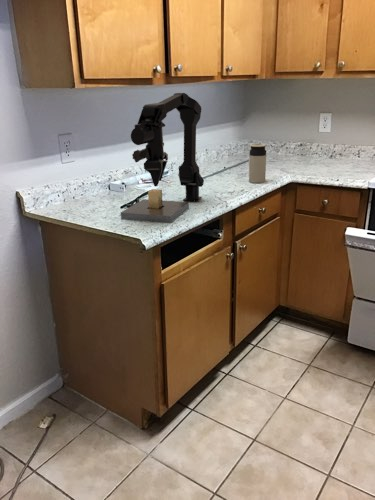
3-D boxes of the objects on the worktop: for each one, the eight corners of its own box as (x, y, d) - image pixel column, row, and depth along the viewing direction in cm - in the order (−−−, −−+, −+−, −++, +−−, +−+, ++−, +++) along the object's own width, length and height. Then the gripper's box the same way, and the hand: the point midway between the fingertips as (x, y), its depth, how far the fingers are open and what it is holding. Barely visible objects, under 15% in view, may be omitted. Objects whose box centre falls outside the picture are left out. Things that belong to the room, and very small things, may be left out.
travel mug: (252, 184, 213) (252, 146, 207) (246, 180, 221) (247, 144, 214) (267, 182, 215) (268, 145, 208) (261, 179, 222) (263, 143, 216)
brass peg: (153, 211, 174) (152, 189, 170) (163, 212, 172) (161, 189, 169) (149, 214, 170) (148, 191, 167) (158, 215, 169) (157, 192, 166)
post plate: (143, 205, 183) (143, 199, 182) (189, 208, 177) (188, 202, 176) (121, 218, 166) (120, 212, 165) (170, 222, 159) (170, 216, 158)
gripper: (138, 137, 169) (141, 178, 175) (127, 145, 152) (131, 190, 158) (167, 137, 168) (169, 177, 174) (159, 144, 151) (162, 189, 156)
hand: (157, 183), depth 165 cm, fingers open, 9 cm apart
